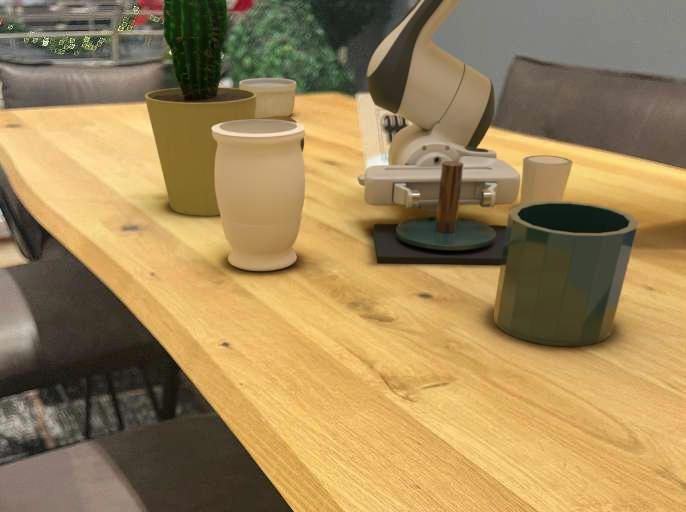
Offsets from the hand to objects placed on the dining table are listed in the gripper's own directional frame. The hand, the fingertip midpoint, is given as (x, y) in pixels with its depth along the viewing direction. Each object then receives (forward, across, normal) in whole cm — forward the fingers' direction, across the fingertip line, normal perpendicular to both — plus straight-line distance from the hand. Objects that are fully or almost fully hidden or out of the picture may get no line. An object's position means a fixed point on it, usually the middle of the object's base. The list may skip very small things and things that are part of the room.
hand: (451, 200), depth 94 cm
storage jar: (+25, +6, +6) cm, 26 cm away
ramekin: (-101, -21, +6) cm, 104 cm away
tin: (-45, -23, +6) cm, 51 cm away
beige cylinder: (-18, +18, +6) cm, 25 cm away
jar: (+4, -24, +6) cm, 25 cm away
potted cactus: (-22, -31, +6) cm, 39 cm away
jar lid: (-1, 0, +4) cm, 5 cm away
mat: (-1, 0, +6) cm, 6 cm away
